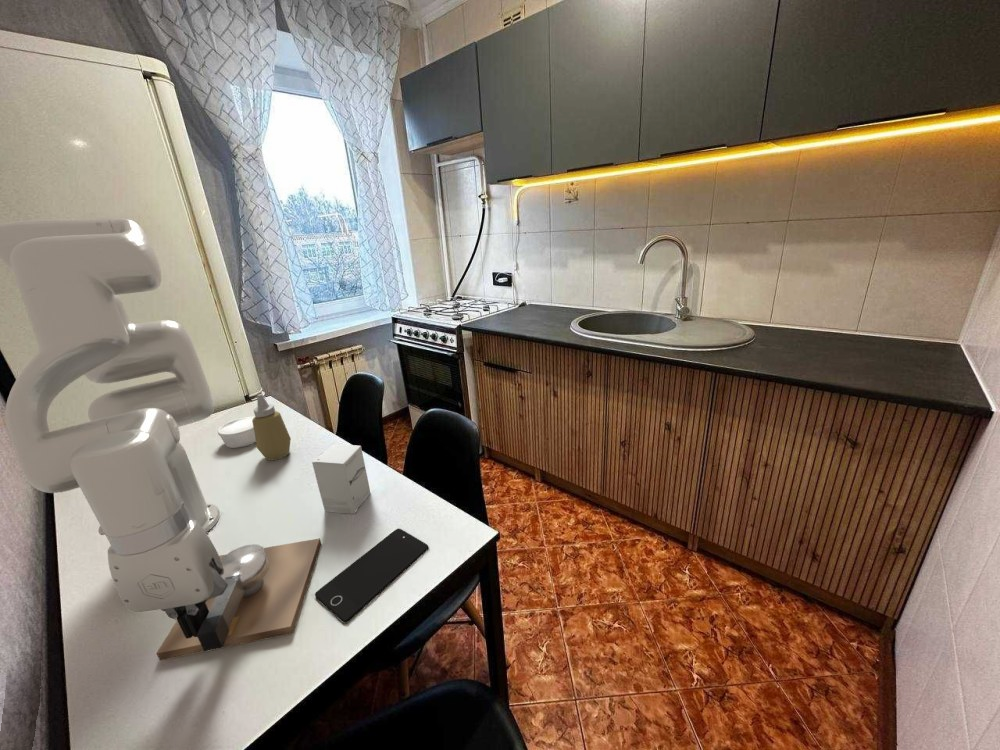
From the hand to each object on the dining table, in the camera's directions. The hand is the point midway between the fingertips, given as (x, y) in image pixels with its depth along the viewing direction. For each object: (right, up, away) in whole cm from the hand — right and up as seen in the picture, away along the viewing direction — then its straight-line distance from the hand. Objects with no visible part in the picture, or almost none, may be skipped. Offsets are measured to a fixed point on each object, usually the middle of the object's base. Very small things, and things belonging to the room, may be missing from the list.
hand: (199, 627), depth 56 cm
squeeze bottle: (-18, +14, +52) cm, 57 cm away
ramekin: (-33, +16, +61) cm, 71 cm away
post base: (+1, -1, +10) cm, 10 cm away
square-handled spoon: (+2, +1, +5) cm, 5 cm away
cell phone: (+21, +1, +14) cm, 25 cm away
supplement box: (+9, +7, +31) cm, 33 cm away
